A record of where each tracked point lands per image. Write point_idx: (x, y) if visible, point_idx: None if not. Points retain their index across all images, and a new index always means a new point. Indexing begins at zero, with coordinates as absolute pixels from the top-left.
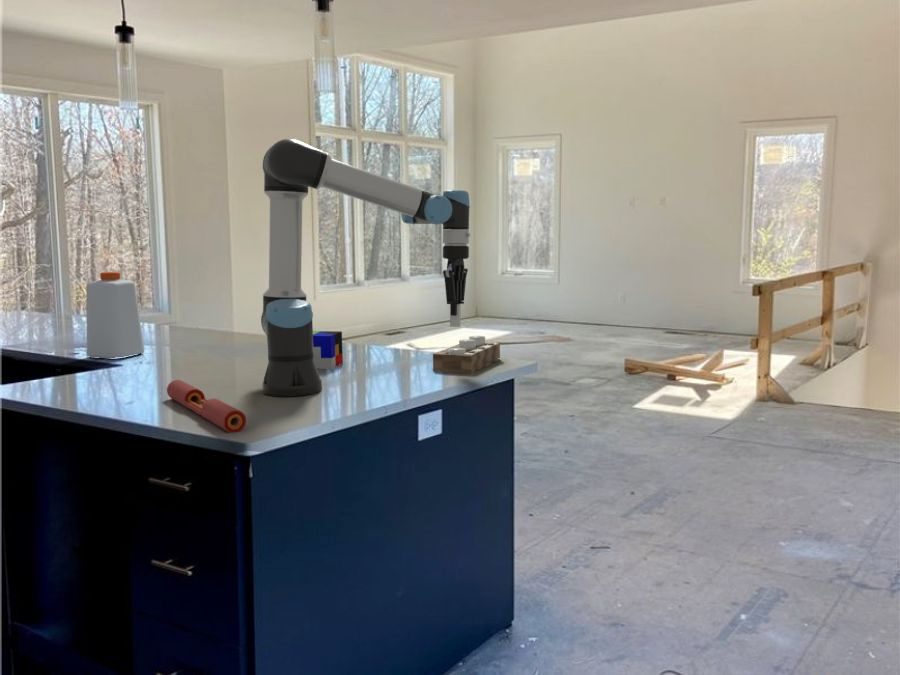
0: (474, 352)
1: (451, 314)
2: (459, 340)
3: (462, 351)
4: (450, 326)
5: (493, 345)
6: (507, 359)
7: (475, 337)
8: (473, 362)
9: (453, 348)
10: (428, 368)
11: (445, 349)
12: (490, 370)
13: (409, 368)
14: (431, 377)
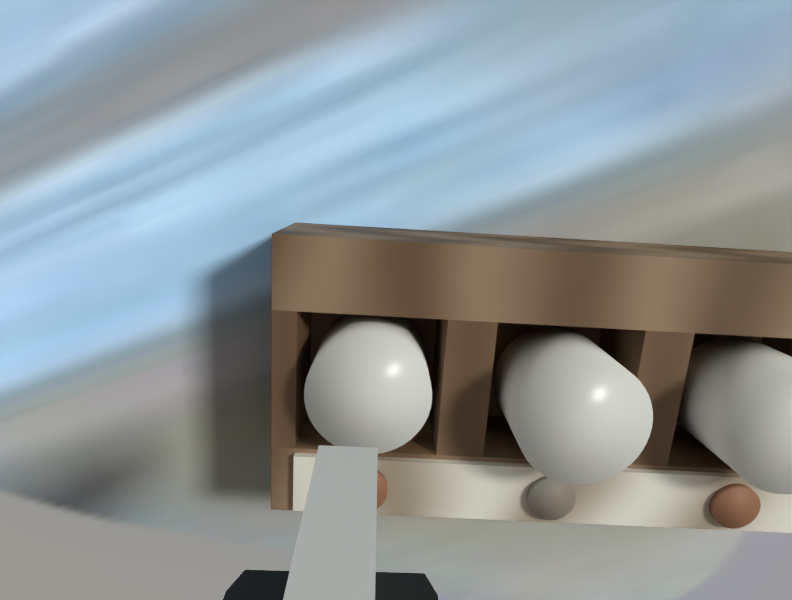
0: None
1: (235, 591)
2: (575, 364)
3: (337, 440)
4: (320, 450)
5: (700, 528)
6: None
7: (760, 433)
8: None
9: (393, 360)
10: (364, 162)
11: (494, 253)
12: None
13: (328, 33)
14: (105, 287)
